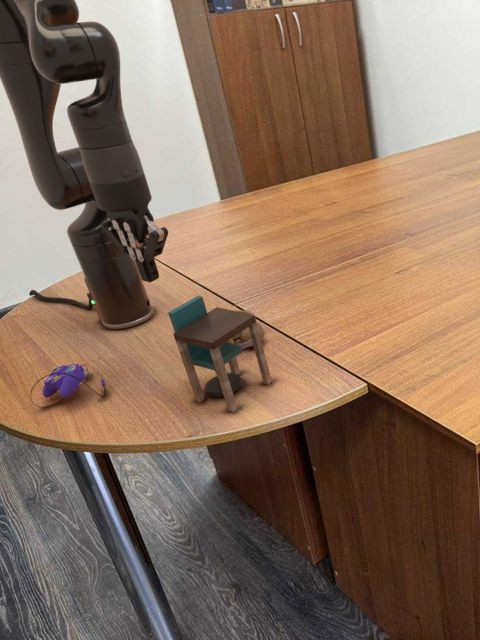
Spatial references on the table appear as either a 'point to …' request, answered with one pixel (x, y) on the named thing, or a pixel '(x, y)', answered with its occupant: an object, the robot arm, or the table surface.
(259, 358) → the desk
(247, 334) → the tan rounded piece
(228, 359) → the chair
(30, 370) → the table surface
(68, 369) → the game controller
